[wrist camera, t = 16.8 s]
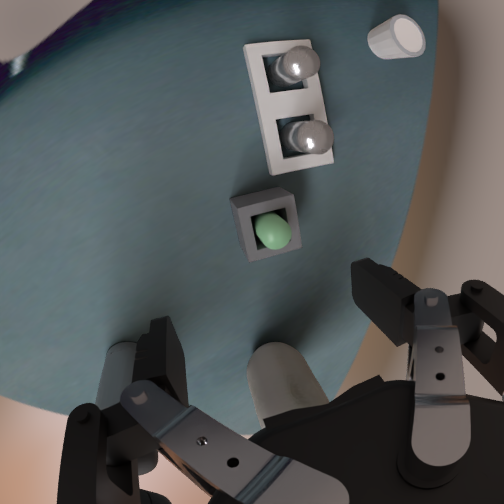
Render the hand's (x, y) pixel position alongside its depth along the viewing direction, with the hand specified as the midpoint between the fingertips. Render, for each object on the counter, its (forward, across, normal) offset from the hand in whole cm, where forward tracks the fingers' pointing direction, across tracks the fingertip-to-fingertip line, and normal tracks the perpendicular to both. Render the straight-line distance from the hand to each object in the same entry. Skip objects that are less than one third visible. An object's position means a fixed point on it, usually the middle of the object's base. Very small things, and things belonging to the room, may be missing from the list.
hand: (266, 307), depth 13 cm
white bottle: (+30, -3, +30) cm, 43 cm away
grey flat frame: (+30, -13, -9) cm, 34 cm away
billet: (+30, -13, -5) cm, 33 cm away
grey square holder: (+30, -6, +5) cm, 31 cm away
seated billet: (+30, -13, -14) cm, 35 cm away
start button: (+28, -6, +5) cm, 29 cm away
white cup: (+30, -31, -18) cm, 47 cm away
